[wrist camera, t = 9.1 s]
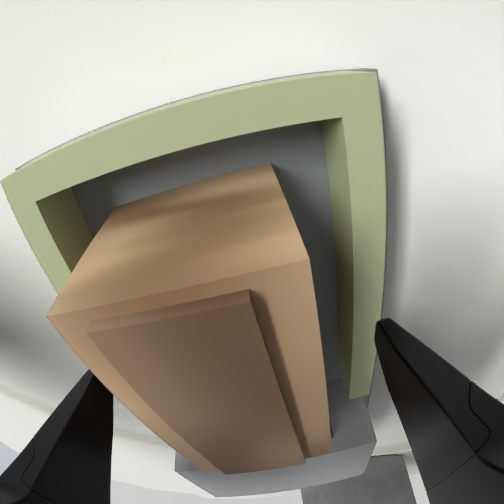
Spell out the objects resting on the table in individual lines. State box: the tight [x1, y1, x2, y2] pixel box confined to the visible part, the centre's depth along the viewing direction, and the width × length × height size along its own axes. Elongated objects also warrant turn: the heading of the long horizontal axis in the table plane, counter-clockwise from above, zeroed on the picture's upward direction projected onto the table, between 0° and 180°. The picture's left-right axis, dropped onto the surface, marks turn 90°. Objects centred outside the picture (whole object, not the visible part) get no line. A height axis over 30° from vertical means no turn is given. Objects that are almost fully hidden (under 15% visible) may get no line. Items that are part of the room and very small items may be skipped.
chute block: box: [47, 163, 332, 475], centre depth 9 cm, size 5×9×5 cm, turn 14°
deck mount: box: [0, 68, 387, 497], centre depth 12 cm, size 12×22×5 cm, turn 12°
